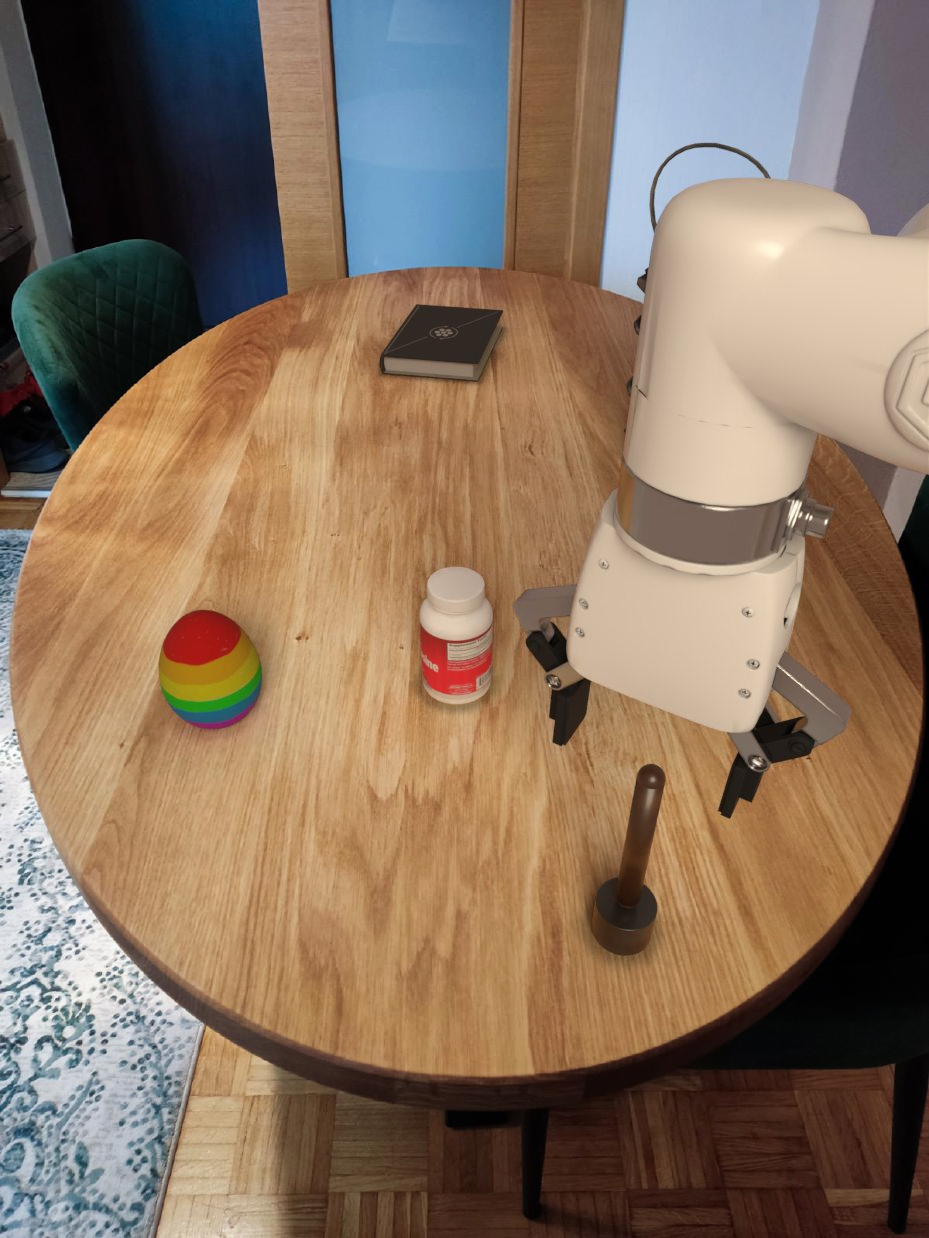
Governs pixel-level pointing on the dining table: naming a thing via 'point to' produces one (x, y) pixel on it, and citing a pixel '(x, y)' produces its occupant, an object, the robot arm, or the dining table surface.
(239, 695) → the decorative egg
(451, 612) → the pill bottle
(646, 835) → the brown pestle
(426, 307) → the book
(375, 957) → the dining table surface
